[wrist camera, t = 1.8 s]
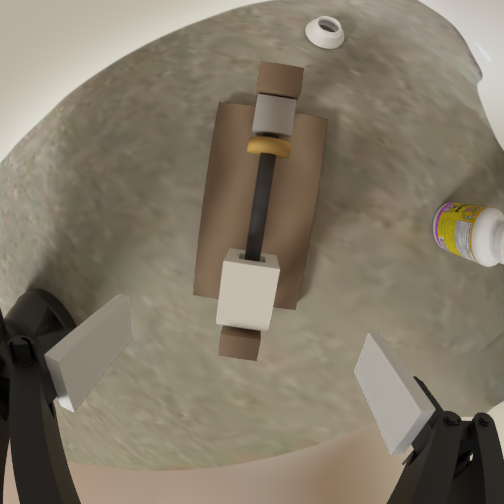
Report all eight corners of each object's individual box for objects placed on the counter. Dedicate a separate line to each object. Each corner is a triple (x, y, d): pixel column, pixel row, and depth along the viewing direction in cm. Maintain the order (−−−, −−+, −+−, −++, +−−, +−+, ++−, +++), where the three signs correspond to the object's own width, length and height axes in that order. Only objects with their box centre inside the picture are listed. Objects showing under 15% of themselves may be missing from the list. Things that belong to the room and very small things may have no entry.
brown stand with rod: (196, 290, 33) (163, 344, 20) (221, 106, 28) (198, 56, 15) (293, 304, 33) (311, 366, 20) (324, 122, 28) (364, 83, 15)
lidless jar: (299, 40, 26) (336, 56, 26) (302, 28, 23) (342, 45, 23) (311, 17, 25) (347, 32, 25) (315, 5, 22) (353, 21, 22)
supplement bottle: (464, 203, 29) (528, 214, 17) (460, 249, 31) (521, 273, 18) (431, 200, 29) (499, 208, 17) (428, 249, 31) (491, 277, 18)
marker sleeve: (222, 301, 24) (215, 323, 20) (229, 248, 23) (223, 260, 19) (266, 308, 24) (268, 331, 20) (276, 255, 23) (280, 269, 19)
